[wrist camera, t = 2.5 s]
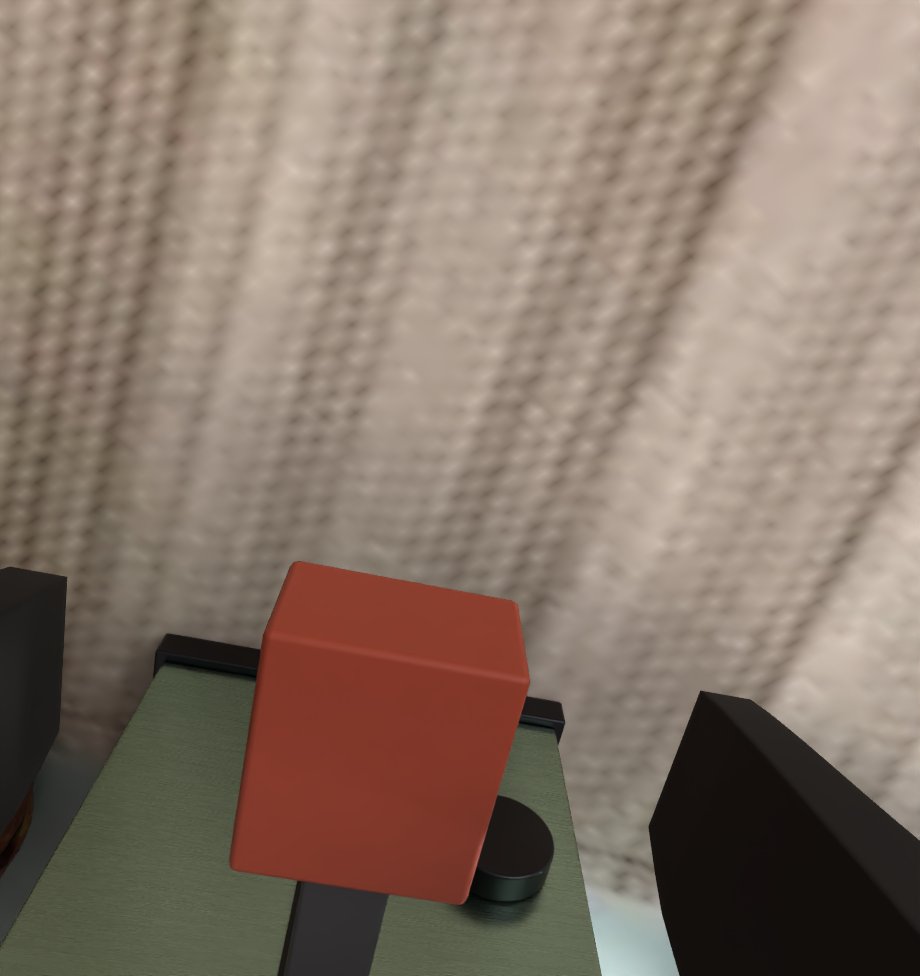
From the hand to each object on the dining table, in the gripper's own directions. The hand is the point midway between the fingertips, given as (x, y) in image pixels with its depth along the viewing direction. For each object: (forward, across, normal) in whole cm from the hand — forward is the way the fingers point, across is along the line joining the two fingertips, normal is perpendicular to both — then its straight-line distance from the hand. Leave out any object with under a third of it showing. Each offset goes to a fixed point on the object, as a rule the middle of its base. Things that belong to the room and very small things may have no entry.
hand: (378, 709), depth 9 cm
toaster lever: (0, 0, +2) cm, 2 cm away
